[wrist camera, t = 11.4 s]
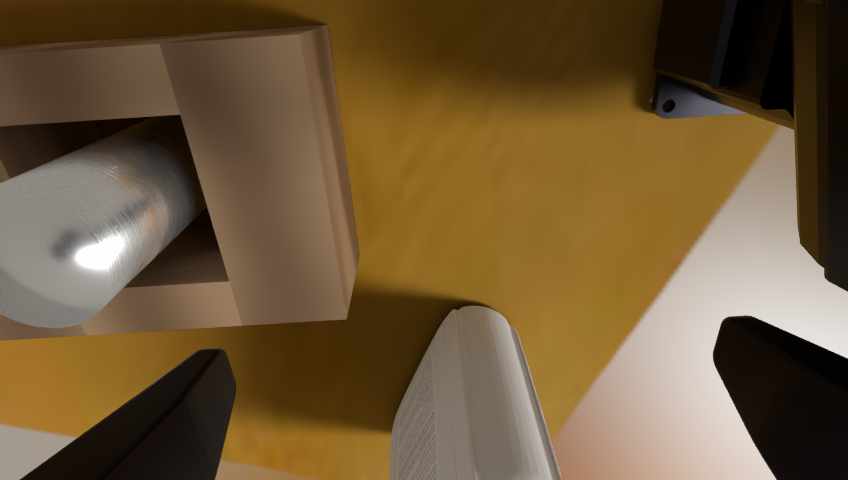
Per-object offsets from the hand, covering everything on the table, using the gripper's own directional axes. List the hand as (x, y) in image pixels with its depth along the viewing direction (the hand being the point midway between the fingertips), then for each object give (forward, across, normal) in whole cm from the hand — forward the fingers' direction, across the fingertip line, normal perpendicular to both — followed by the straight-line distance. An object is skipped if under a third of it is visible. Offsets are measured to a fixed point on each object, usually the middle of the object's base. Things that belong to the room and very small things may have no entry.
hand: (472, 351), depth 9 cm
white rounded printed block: (+13, 0, +13) cm, 19 cm away
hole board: (+13, +11, 0) cm, 17 cm away
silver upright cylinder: (+13, +11, 0) cm, 17 cm away
